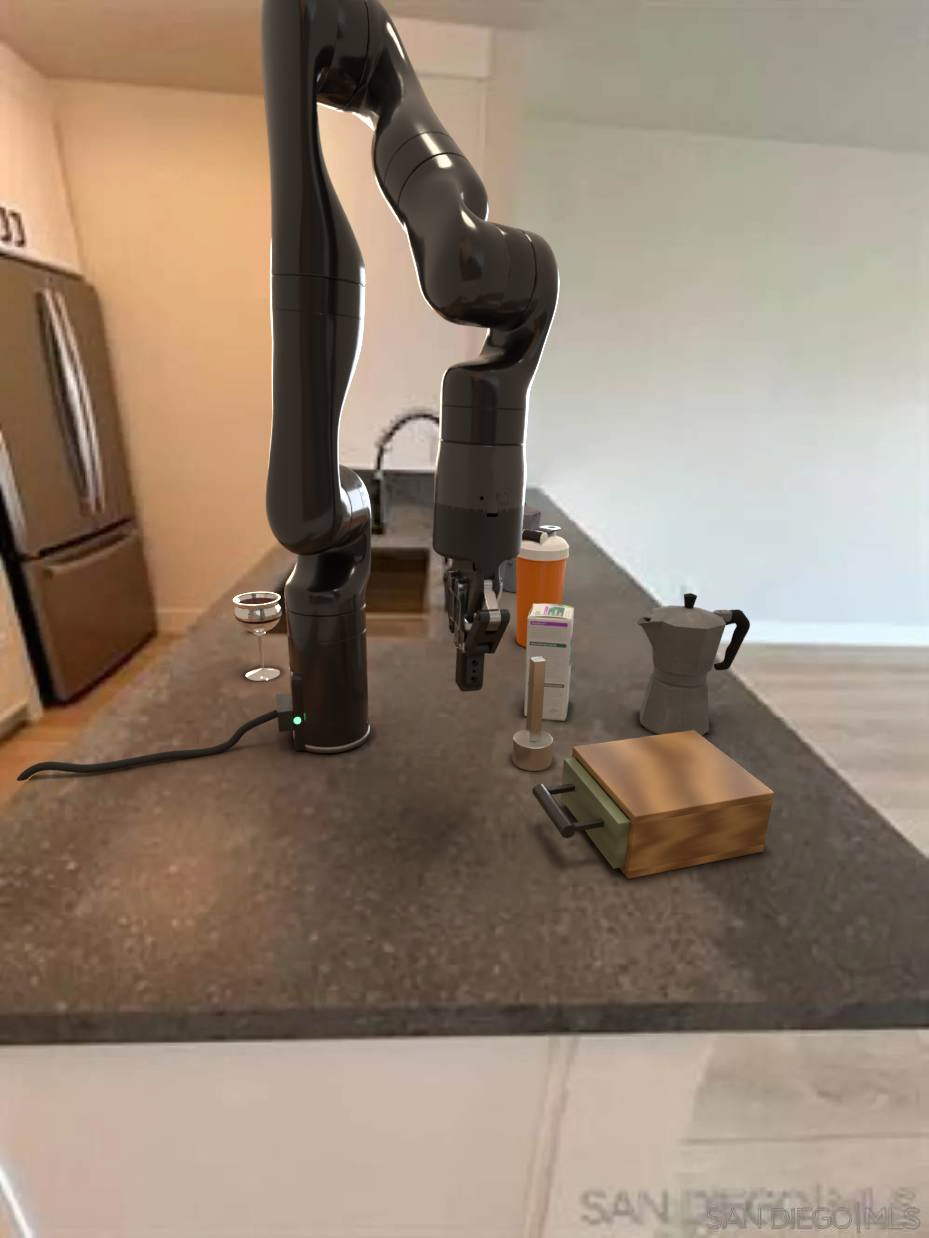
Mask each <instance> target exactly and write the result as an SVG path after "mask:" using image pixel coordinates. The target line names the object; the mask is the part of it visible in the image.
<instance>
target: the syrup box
mask: <svg viewBox="0 0 929 1238" xmlns="http://www.w3.org/2000/svg"><path fill="white" fill-rule="evenodd" d="M574 614H575V608H574V606H572V605H565V604H562V605H560V604H533V606H532V608H531V610H530V612H529V615H528V622H527V647H525V650H526V651H525V673H524V674H525V676H524V701H523V702H524V703H523V705H524V706H523V715H524V716H525V717H527V703H528V685H529V667H530V657H542V658H543V659H544V660H545V661H546V666H545V682H544V698H543V713H542V720H549V721H550V720H551V721H561V722H565V721H566V720H567V715H568V709H569V701H570V686H571V672H572V671H571V670H572V657H573V656H572V655H573V636H574V635H573V633H574Z"/></svg>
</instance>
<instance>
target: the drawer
mask: <svg viewBox="0 0 929 1238" xmlns="http://www.w3.org/2000/svg"><path fill="white" fill-rule="evenodd" d="M562 765H563V766H562V780H561V784H560V785H559V784H558V785H553V786H547V787H546V786H545V785H544V784H543V783H537V784H535V785H534V786H533V787H532V790H531V791H532V795H533V796H534V798H535V799H536V801H537V802H538V803H539V805H540V807H541V808H542V809H543V811H544V812H545V814H546V816H548V818H549V820H550V821H551V822H552V824H553V825H554V826H555V828H556V829H557V831H558V833H559V834H560V835H561V837H562V838H564V839H571V838H573V837H574V835H575V834H576V832H582V831H585V833H586V834H587V835H588V837H589V839H591V841H592V842H593V844H594V845H595V846H596V848H597V849H598V850H599V852H600V853H601V854H602V856H603V857H604V858H605V860H606V861H607V862H608V863H609V865H610V866H611V867H612V869H613V870H614V869H620V867H625V863H626V855H627V846H628V838H629V829H630V818H629V817H628V816H627V815H626V814H625V813H624V812H623V810H622V809H621V808H620V807H619V806H618V805H617V804H616V802H615V801H614V800H613V799H612V798H611V797H610V796H609V794H608V793H607V792H606V791H605V790H604V789H603V788H602V786H601V785H600V784H599V783H598V782H597V781H596V780H595V778H594V777H593V776H592V775H591V774H590V773H589V772H587V771H586V770H585V769H584V768H583V767H582V765H581V764H580V763H579V762H578V761H577V760H576V759H575V757H572V756H571V757H566V758H563V764H562ZM553 795H554V796H555V795H560V799H561V801H562V802H563V803H564V805H565V806H566V808H567V809H568V810H569V812H570V813H571V814H572V815H573V817H574V818H575V819H576V822H572V821H571V820H570V819H569V817H568V816H567V814H566V813H565V812H564V810H563V809H562V807H561V806H560V805H559V803H558V802H557V800H556V799H555V798H554V797H553Z"/></svg>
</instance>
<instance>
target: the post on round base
mask: <svg viewBox="0 0 929 1238" xmlns="http://www.w3.org/2000/svg"><path fill="white" fill-rule="evenodd" d="M545 666H546V661H545V660H544V659H543V658H542V657H530V667H529V685H528V703H527V716H526V723H525V729H522V730H519V731H517V732H515V734H514V735H513V738H512V758H511V759H512V763H513V765H515V766H516V767H517V768H519V769H521V770H524V771H529V772H541V771H545V770H546V769H548V768H549V767H551V765H552V758H553V757H552V756H553V745H554V739H553V736H552V735H551V734H549V733H548V732H546V731H544V730H542V729H543V728H542V727H543V719H542V713H543V698H544V682H545Z"/></svg>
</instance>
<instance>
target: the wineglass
mask: <svg viewBox="0 0 929 1238" xmlns="http://www.w3.org/2000/svg"><path fill="white" fill-rule="evenodd" d="M280 599H281V595H280V594H278V593H275V592H271V591H253V592H252V591H251V592H246V593H242V594H239V595H236V596H234V598H232V601H233V603H234V605H235V606H234V608H233V616H234V619H235V622H236V624H237V625H238V626H240V627H241V628H243V629H244V630H245V631H247V632H250V633H253V634H254V635H255V636H256V638H257V645H258V653H259V661H260V667H258V668H254V669H251V670H249V671H248V672H247V673H246V674H245V677H246V678H247V679H248V680H251V681H255V682H256V681H258V682H262V681H269V680H273V679H275V678H277V677H279V676H280V675H281V672H280V670H279V669H277V668H275V667H265V662H264V659H265V658H264V635H265V634H266V632H268V631H270V630H272V629H273V628H274V627H276V625H278V623H279V622H280V621H281V618H282V616H283V610H282V606H281V604H280V603H279V601H280Z"/></svg>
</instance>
